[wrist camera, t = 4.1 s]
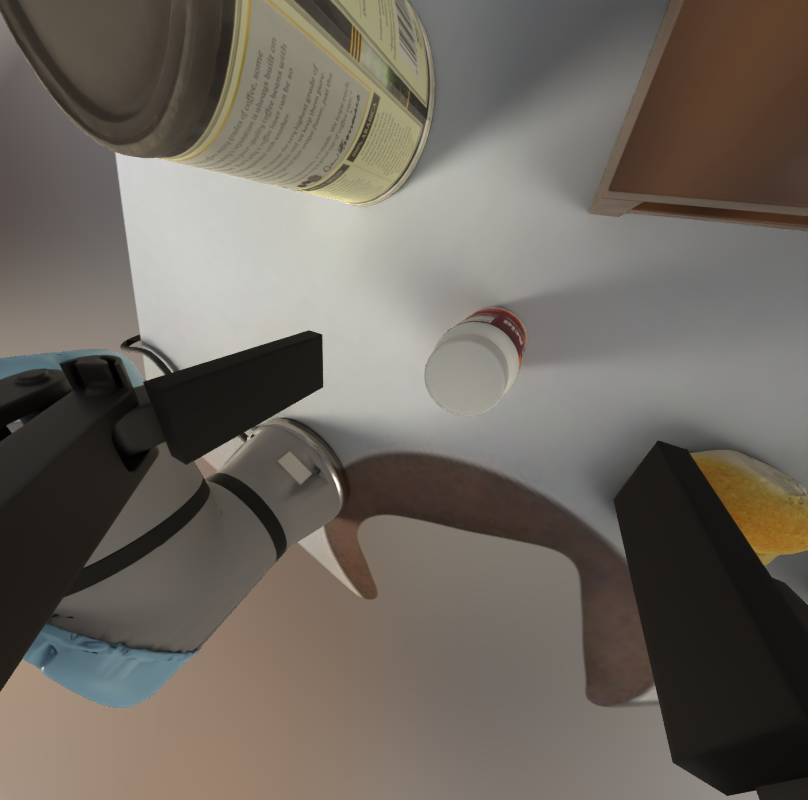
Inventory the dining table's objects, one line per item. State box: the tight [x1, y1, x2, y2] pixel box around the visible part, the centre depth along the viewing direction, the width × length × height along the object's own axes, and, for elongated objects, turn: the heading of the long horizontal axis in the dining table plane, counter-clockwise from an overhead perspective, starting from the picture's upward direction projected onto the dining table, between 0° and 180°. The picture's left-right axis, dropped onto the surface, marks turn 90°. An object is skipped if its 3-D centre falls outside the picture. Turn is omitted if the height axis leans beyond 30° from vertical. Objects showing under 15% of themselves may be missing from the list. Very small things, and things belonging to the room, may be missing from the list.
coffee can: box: [0, 0, 435, 206], centre depth 13 cm, size 10×10×14 cm
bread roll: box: [690, 450, 808, 566], centre depth 18 cm, size 8×9×4 cm
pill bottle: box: [425, 307, 527, 416], centre depth 17 cm, size 5×5×8 cm
